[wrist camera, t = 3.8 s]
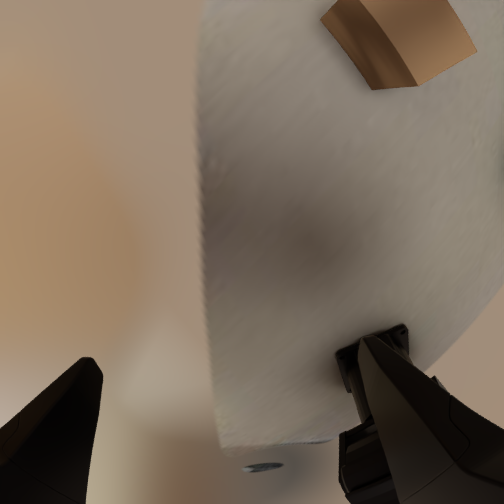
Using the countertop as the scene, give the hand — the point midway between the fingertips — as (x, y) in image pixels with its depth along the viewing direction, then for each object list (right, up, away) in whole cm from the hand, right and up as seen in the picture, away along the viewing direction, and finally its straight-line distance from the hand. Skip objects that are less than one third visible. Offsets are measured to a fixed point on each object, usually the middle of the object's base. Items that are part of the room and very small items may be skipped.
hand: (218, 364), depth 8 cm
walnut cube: (+8, +16, +3) cm, 18 cm away
